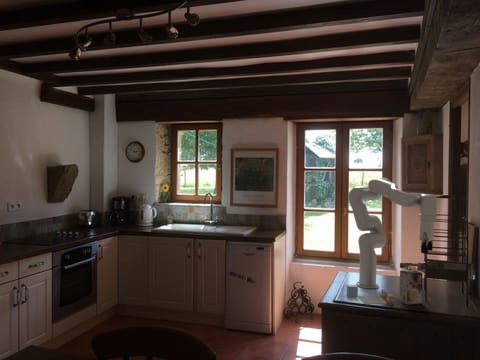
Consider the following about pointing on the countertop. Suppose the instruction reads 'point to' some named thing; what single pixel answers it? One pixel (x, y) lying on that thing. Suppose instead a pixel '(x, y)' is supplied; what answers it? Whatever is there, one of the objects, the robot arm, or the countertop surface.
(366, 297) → the mat
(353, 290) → the block
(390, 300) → the rail
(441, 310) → the countertop surface
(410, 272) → the coffee box
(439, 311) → the countertop surface
